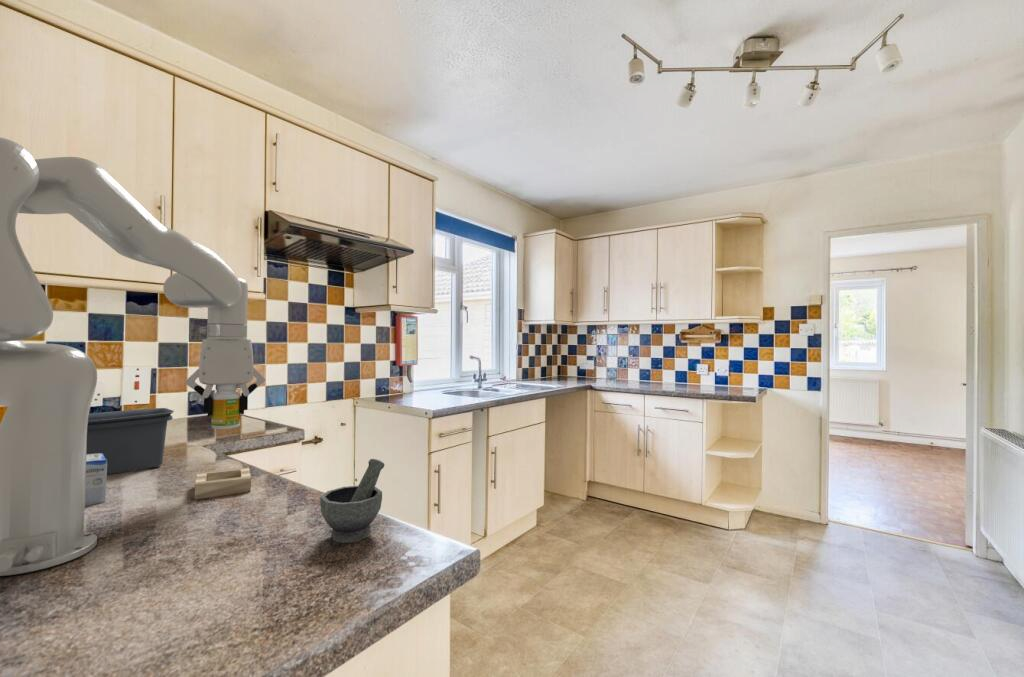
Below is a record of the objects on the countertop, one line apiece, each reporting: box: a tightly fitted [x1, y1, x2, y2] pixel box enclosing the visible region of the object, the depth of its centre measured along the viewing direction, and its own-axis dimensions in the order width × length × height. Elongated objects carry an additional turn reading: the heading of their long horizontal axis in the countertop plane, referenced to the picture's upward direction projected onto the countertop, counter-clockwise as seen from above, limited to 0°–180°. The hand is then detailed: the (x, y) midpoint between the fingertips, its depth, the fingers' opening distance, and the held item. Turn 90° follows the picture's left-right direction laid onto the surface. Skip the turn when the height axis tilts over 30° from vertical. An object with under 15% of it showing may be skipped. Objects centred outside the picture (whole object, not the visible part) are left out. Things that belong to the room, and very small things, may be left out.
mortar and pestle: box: [319, 458, 385, 544], centre depth 77 cm, size 11×9×12 cm
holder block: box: [194, 466, 252, 500], centre depth 100 cm, size 10×10×3 cm
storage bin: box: [86, 407, 175, 476], centre depth 114 cm, size 21×16×14 cm
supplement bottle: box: [210, 384, 241, 430], centre depth 100 cm, size 5×5×10 cm
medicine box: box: [85, 453, 108, 507], centre depth 92 cm, size 8×4×9 cm, turn 47°
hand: (226, 413), depth 100 cm, fingers closed on supplement bottle, 5 cm apart
